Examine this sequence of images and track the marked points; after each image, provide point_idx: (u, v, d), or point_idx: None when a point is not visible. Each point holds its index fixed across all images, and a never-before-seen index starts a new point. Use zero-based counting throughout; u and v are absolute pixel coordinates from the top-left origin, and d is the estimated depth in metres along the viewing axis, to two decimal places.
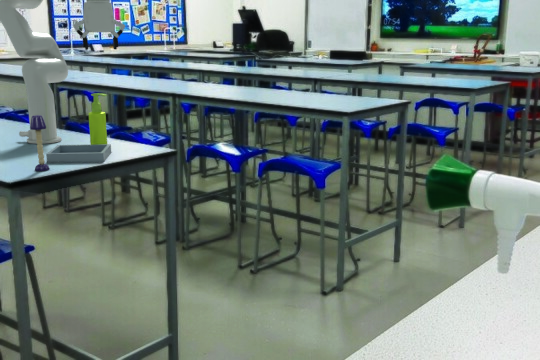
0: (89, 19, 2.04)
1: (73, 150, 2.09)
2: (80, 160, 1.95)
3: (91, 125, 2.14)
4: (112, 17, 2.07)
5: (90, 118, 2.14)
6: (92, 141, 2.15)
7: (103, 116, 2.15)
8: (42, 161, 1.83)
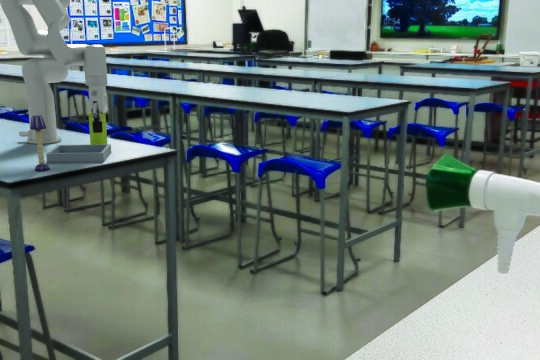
0: None
1: (73, 150, 2.09)
2: (80, 160, 1.95)
3: (91, 125, 2.14)
4: (89, 100, 2.10)
5: (90, 118, 2.14)
6: (92, 141, 2.15)
7: (103, 116, 2.15)
8: (42, 161, 1.83)
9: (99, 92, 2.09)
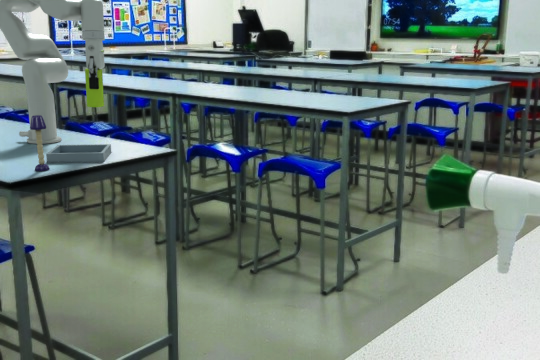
0: None
1: (73, 150, 2.09)
2: (80, 160, 1.95)
3: (87, 81, 2.11)
4: (86, 55, 2.06)
5: (86, 74, 2.10)
6: (89, 98, 2.12)
7: (100, 72, 2.11)
8: (42, 161, 1.83)
9: (96, 47, 2.06)
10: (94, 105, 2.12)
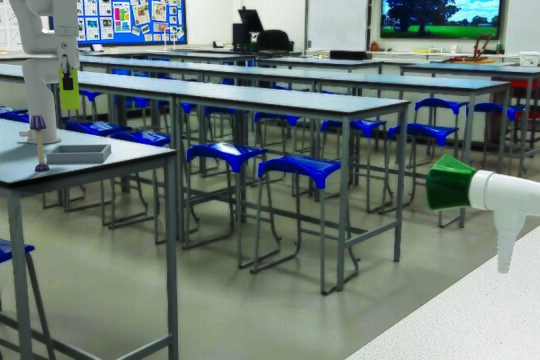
0: None
1: (73, 150, 2.09)
2: (80, 160, 1.95)
3: (61, 82, 1.94)
4: (58, 53, 1.90)
5: (60, 74, 1.94)
6: (63, 99, 1.96)
7: (74, 72, 1.95)
8: (42, 161, 1.83)
9: (69, 44, 1.90)
10: (69, 107, 1.96)
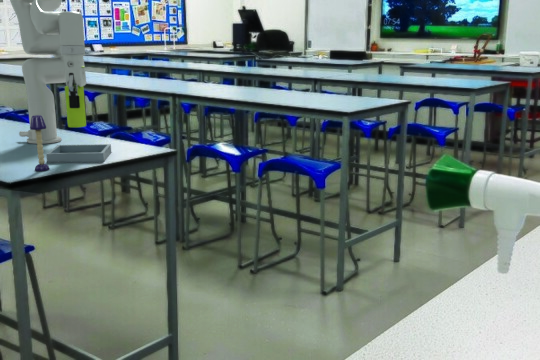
0: None
1: (73, 150, 2.09)
2: (80, 160, 1.95)
3: (68, 100, 1.96)
4: (65, 71, 1.92)
5: (66, 92, 1.95)
6: (69, 117, 1.97)
7: (81, 90, 1.96)
8: (42, 161, 1.83)
9: (75, 63, 1.91)
10: (75, 125, 1.97)
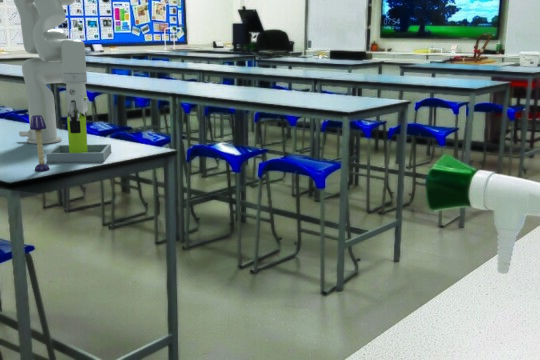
0: None
1: None
2: (80, 160, 1.95)
3: None
4: (67, 99, 1.94)
5: (68, 122, 1.98)
6: (71, 147, 1.99)
7: (83, 121, 1.99)
8: (42, 161, 1.83)
9: (77, 91, 1.93)
10: None
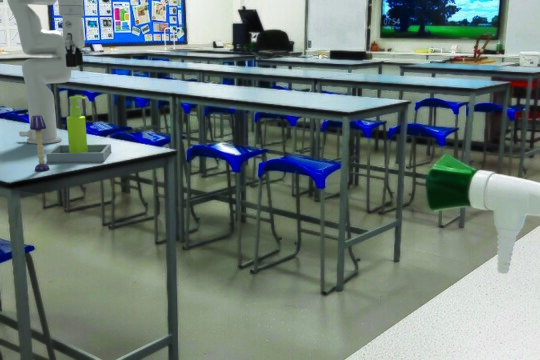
0: None
1: None
2: (80, 160, 1.95)
3: (69, 130, 1.98)
4: (63, 32, 1.90)
5: (68, 123, 1.98)
6: (71, 147, 1.99)
7: (82, 121, 1.99)
8: (42, 161, 1.83)
9: (74, 23, 1.89)
10: None
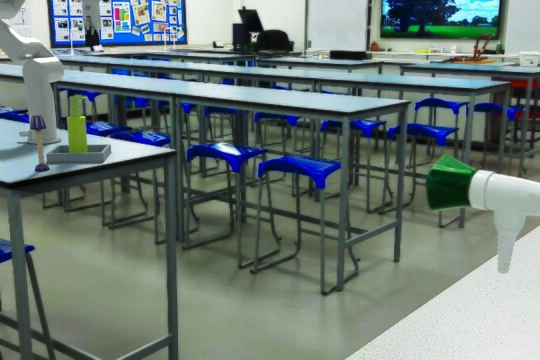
0: None
1: None
2: (80, 160, 1.95)
3: (69, 130, 1.98)
4: None
5: (68, 123, 1.98)
6: (71, 147, 1.99)
7: (83, 121, 1.99)
8: (42, 161, 1.83)
9: (92, 7, 2.11)
10: None
